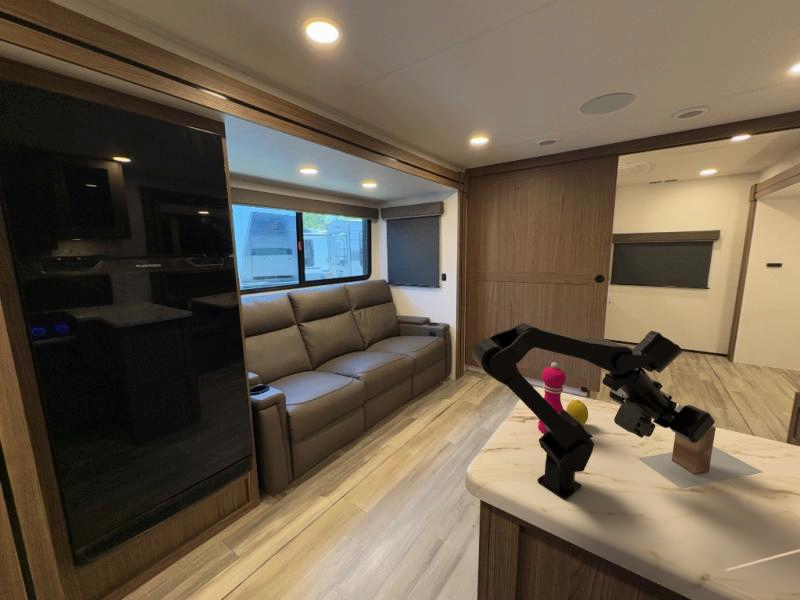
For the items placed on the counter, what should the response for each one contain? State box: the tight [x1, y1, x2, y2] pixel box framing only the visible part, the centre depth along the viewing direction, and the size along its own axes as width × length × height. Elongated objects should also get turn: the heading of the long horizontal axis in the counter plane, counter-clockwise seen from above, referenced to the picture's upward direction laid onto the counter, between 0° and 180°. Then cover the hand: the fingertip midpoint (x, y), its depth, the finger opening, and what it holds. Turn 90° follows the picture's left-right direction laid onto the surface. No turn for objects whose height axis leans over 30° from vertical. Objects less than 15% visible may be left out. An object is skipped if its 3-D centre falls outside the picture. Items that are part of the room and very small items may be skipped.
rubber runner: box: [636, 445, 763, 489], centre depth 74 cm, size 23×10×1 cm, turn 102°
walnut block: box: [672, 425, 717, 475], centre depth 73 cm, size 4×5×11 cm
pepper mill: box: [537, 361, 567, 435], centre depth 88 cm, size 7×7×20 cm
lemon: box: [565, 399, 589, 426], centre depth 91 cm, size 6×6×8 cm
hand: (673, 427), depth 71 cm, fingers closed
